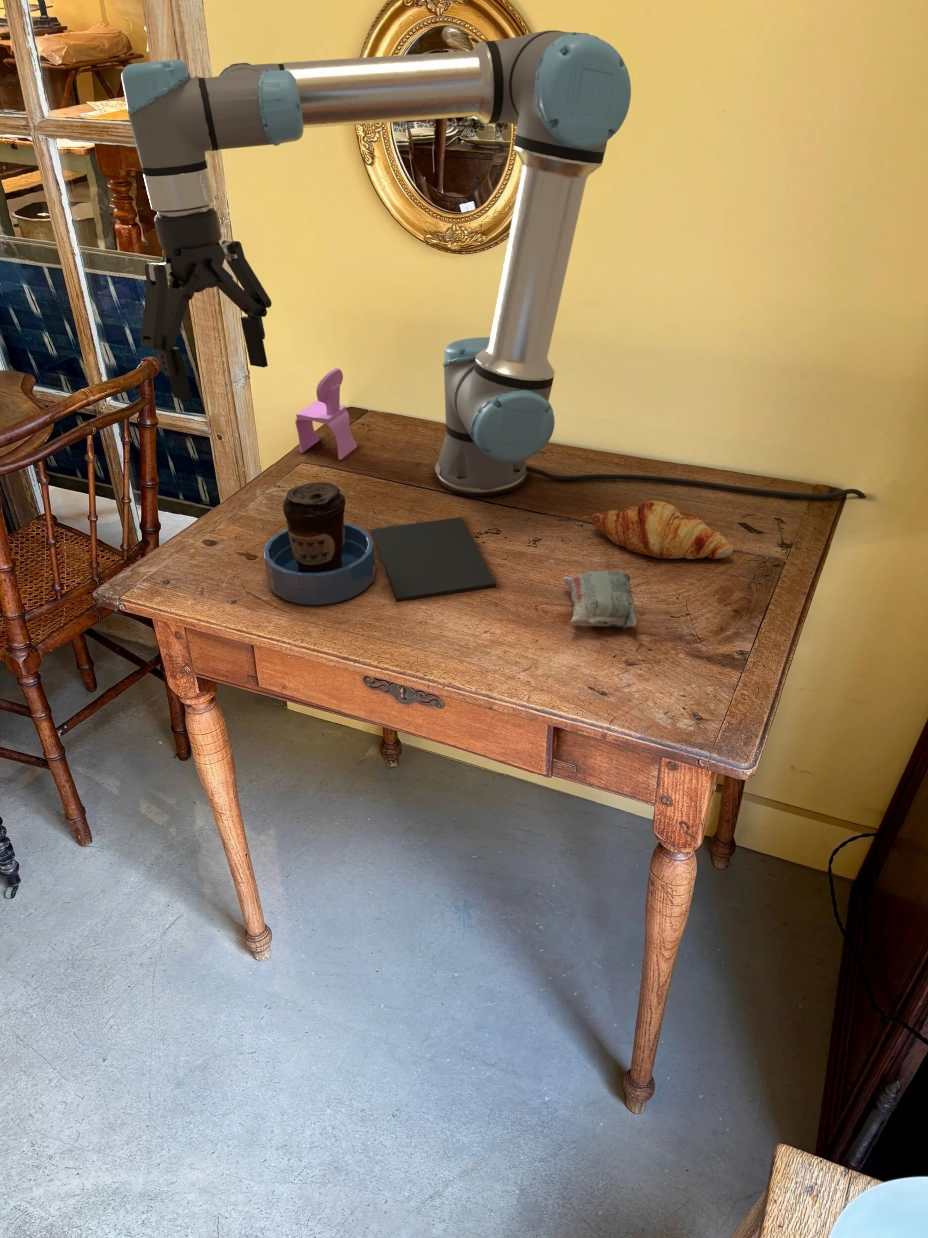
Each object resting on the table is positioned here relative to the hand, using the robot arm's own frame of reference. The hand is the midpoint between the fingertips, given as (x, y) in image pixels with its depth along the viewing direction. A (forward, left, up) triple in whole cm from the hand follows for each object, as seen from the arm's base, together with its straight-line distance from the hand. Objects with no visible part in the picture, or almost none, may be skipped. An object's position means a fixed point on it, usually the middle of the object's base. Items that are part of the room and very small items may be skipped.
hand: (222, 381), depth 124 cm
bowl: (-9, +11, -26) cm, 29 cm away
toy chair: (-16, -33, -26) cm, 45 cm away
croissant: (-58, +16, -26) cm, 66 cm away
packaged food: (-43, +30, -26) cm, 59 cm away
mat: (-25, +10, -26) cm, 38 cm away
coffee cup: (-9, +11, -26) cm, 29 cm away
